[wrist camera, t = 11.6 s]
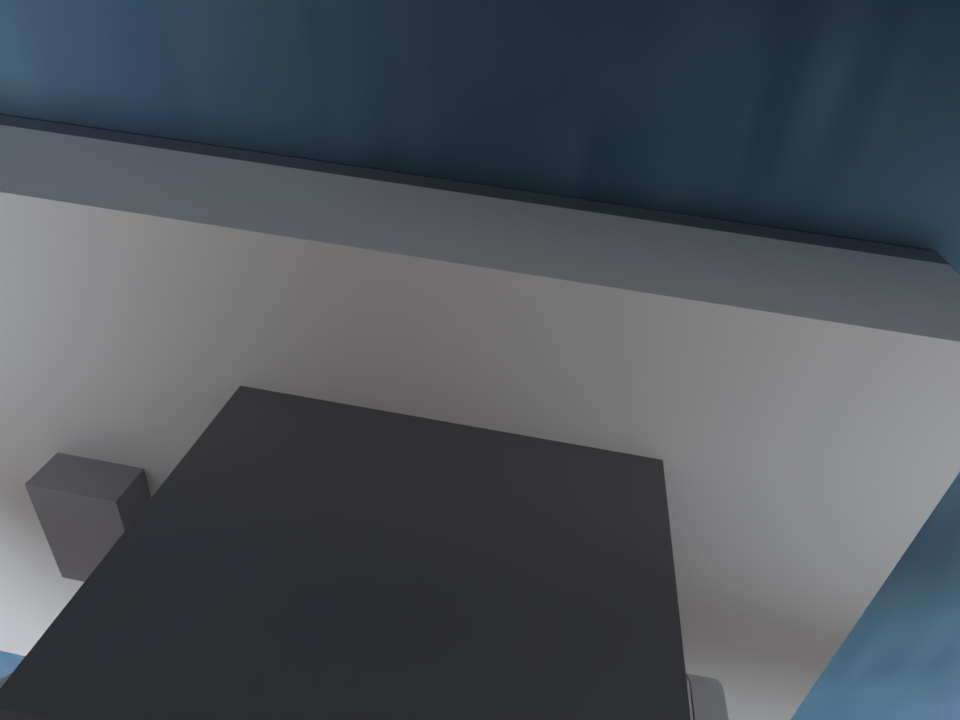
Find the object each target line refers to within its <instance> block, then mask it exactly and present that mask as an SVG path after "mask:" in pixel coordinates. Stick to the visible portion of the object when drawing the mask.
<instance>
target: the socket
mask: <svg viewBox="0 0 960 720" xmlns="http://www.w3.org/2000/svg"><path fill="white" fill-rule="evenodd" d="M239 386H246V387H251V388H257V389H263V390H268V391H274V392H280V393H285V394H291V395H297V396H303V397H308V398H314V399H320V400H325V401H331V402H337V403H342V404H348V405H354V406H359V407H365V408H371V409H376V410H382V411H388V412H394V413H399V414H405V415H411V416H416V417H422V418H428V419H433V420H439V421H445V422H450V423H456V424H462V425H467V426H473V427H479V428H485V429H490V430H496V431H502V432H507V433H513V434H519V435H524V436H530V437H536V438H541V439H547V440H553V441H558V442H564V443H570V444H576V445H581V446H587V447H593V448H598V449H604V450H610V451H615V452H621V453H627V454H632V455H638V456H644V457H649V458H655V459H661V460H663V466H664V475H665V484H666V494H667V503H668V512H669V522H670V531H671V540H672V550H673V559H674V568H675V578H676V587H677V596H678V606H679V615H680V624H681V634H682V643H683V652H684V662H685V671H686V673H688V674H693V675H699V676H704V677H709V678H715V679H717V680H719V681H720V683H721V684H722V686H723V688H724V693H725V699H726V705H727V711H728V718H729V720H791V718H792V717H793V715H794V714H795V712H796V711H797V709H798V708H799V706H800V705H801V704H802V702H803V701H804V699H805V698H806V696H807V695H808V693H809V692H810V690H811V689H812V687H813V686H814V685H815V683H816V682H817V680H818V679H819V677H820V676H821V674H822V673H823V671H824V670H825V668H826V667H827V665H828V664H829V663H830V661H831V660H832V658H833V657H834V655H835V654H836V652H837V651H838V649H839V648H840V646H841V645H842V644H843V642H844V641H845V639H846V638H847V636H848V635H849V633H850V632H851V630H852V629H853V627H854V626H855V624H856V623H857V622H858V620H859V619H860V617H861V616H862V614H863V613H864V611H865V610H866V608H867V607H868V605H869V604H870V603H871V601H872V600H873V598H874V597H875V595H876V594H877V592H878V591H879V589H880V588H881V586H882V585H883V583H884V582H885V581H886V579H887V578H888V576H889V575H890V573H891V572H892V570H893V569H894V567H895V566H896V564H897V563H898V562H899V560H900V559H901V557H902V556H903V554H904V553H905V551H906V550H907V548H908V547H909V545H910V544H911V542H912V541H913V540H914V538H915V537H916V535H917V534H918V532H919V531H920V529H921V528H922V526H923V525H924V523H925V522H926V521H927V519H928V518H929V516H930V515H931V513H932V512H933V510H934V509H935V507H936V506H937V504H938V503H939V501H940V500H941V499H942V497H943V496H944V494H945V493H946V491H947V490H948V488H949V487H950V485H951V484H952V482H953V481H954V480H955V478H956V477H957V475H958V474H959V472H960V275H959V274H958V273H957V272H956V271H955V270H954V269H953V268H952V267H951V266H950V265H949V264H948V263H947V262H946V261H945V260H944V259H943V258H942V257H941V256H940V255H939V254H938V253H937V252H936V251H931V250H924V249H918V248H911V247H904V246H897V245H890V244H883V243H877V242H870V241H863V240H856V239H849V238H842V237H835V236H829V235H822V234H815V233H808V232H801V231H794V230H788V229H781V228H774V227H767V226H760V225H753V224H747V223H740V222H733V221H726V220H719V219H712V218H706V217H699V216H692V215H685V214H678V213H671V212H664V211H658V210H651V209H644V208H637V207H630V206H623V205H617V204H610V203H603V202H596V201H589V200H582V199H576V198H569V197H562V196H555V195H548V194H541V193H535V192H528V191H521V190H514V189H507V188H500V187H493V186H487V185H480V184H473V183H466V182H459V181H452V180H446V179H439V178H432V177H425V176H418V175H411V174H405V173H398V172H391V171H384V170H377V169H370V168H364V167H357V166H350V165H343V164H336V163H329V162H322V161H316V160H309V159H302V158H295V157H288V156H281V155H275V154H268V153H261V152H254V151H247V150H240V149H234V148H227V147H220V146H213V145H206V144H199V143H193V142H186V141H179V140H172V139H165V138H158V137H151V136H145V135H138V134H131V133H124V132H117V131H110V130H104V129H97V128H90V127H83V126H76V125H69V124H63V123H56V122H49V121H42V120H35V119H28V118H22V117H15V116H8V115H1V114H0V651H4V652H9V653H14V654H18V655H23V656H26V655H27V654H28V653H29V651H30V650H31V649H32V648H33V646H34V645H35V644H36V643H37V641H38V640H39V639H40V638H41V636H42V635H43V634H44V632H45V631H46V630H47V629H48V627H49V626H50V625H51V624H52V622H53V621H54V620H55V619H56V617H57V616H58V615H59V614H60V612H61V611H62V610H63V608H64V607H65V606H66V605H67V603H68V602H69V601H70V600H71V598H72V597H73V596H74V595H75V593H76V592H77V591H78V590H79V588H80V587H81V586H82V585H83V583H84V582H85V581H86V579H87V578H88V577H89V576H90V574H91V573H92V572H93V571H94V569H95V568H96V567H97V566H98V564H99V563H100V562H101V561H102V559H103V558H104V557H105V556H106V554H107V553H108V552H109V550H110V549H111V548H112V547H113V545H114V544H115V543H116V542H117V540H118V539H119V538H120V537H121V535H122V534H123V533H124V532H125V530H126V529H127V528H128V526H129V525H130V524H131V523H132V521H133V520H134V519H135V518H136V516H137V515H138V514H139V513H140V511H141V510H142V509H143V508H144V506H145V505H146V504H147V503H148V501H149V500H150V499H151V497H152V496H153V495H154V494H155V492H156V491H157V490H158V489H159V487H160V486H161V485H162V484H163V482H164V481H165V480H166V479H167V477H168V476H169V475H170V474H171V472H172V471H173V470H174V468H175V467H176V466H177V465H178V463H179V462H180V461H181V460H182V458H183V457H184V456H185V455H186V453H187V452H188V451H189V450H190V448H191V447H192V446H193V445H194V443H195V442H196V441H197V439H198V438H199V437H200V436H201V434H202V433H203V432H204V431H205V429H206V428H207V427H208V426H209V424H210V423H211V422H212V421H213V419H214V418H215V417H216V415H217V414H218V413H219V412H220V410H221V409H222V408H223V407H224V405H225V404H226V403H227V402H228V400H229V399H230V398H231V397H232V395H233V394H234V393H235V392H236V390H237V389H238V388H239Z"/></svg>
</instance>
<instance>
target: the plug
mask: <svg viewBox="0 0 960 720" xmlns="http://www.w3.org/2000/svg"><path fill="white" fill-rule="evenodd" d="M0 720H691V718H690V708H689V699H688V690H687V680H686V671H685V662H684V652H683V643H682V634H681V624H680V615H679V606H678V596H677V587H676V578H675V568H674V559H673V550H672V540H671V531H670V522H669V512H668V503H667V494H666V484H665V475H664V466H663V460H661V459H655V458H649V457H644V456H638V455H632V454H627V453H621V452H615V451H610V450H604V449H598V448H593V447H587V446H581V445H576V444H570V443H564V442H558V441H553V440H547V439H541V438H536V437H530V436H524V435H519V434H513V433H507V432H502V431H496V430H490V429H485V428H479V427H473V426H467V425H462V424H456V423H450V422H445V421H439V420H433V419H428V418H422V417H416V416H411V415H405V414H399V413H394V412H388V411H382V410H376V409H371V408H365V407H359V406H354V405H348V404H342V403H337V402H331V401H325V400H320V399H314V398H308V397H303V396H297V395H291V394H285V393H280V392H274V391H268V390H263V389H257V388H251V387H246V386H239V388H238V389H237V390H236V392H235V393H234V394H233V395H232V397H231V398H230V399H229V400H228V402H227V403H226V404H225V405H224V407H223V408H222V409H221V410H220V412H219V413H218V414H217V415H216V417H215V418H214V419H213V421H212V422H211V423H210V424H209V426H208V427H207V428H206V429H205V431H204V432H203V433H202V434H201V436H200V437H199V438H198V439H197V441H196V442H195V443H194V445H193V446H192V447H191V448H190V450H189V451H188V452H187V453H186V455H185V456H184V457H183V458H182V460H181V461H180V462H179V463H178V465H177V466H176V467H175V468H174V470H173V471H172V472H171V474H170V475H169V476H168V477H167V479H166V480H165V481H164V482H163V484H162V485H161V486H160V487H159V489H158V490H157V491H156V492H155V494H154V495H153V496H152V497H151V499H150V500H149V501H148V503H147V504H146V505H145V506H144V508H143V509H142V510H141V511H140V513H139V514H138V515H137V516H136V518H135V519H134V520H133V521H132V523H131V524H130V525H129V526H128V528H127V529H126V530H125V532H124V533H123V534H122V535H121V537H120V538H119V539H118V540H117V542H116V543H115V544H114V545H113V547H112V548H111V549H110V550H109V552H108V553H107V554H106V556H105V557H104V558H103V559H102V561H101V562H100V563H99V564H98V566H97V567H96V568H95V569H94V571H93V572H92V573H91V574H90V576H89V577H88V578H87V579H86V581H85V582H84V583H83V585H82V586H81V587H80V588H79V590H78V591H77V592H76V593H75V595H74V596H73V597H72V598H71V600H70V601H69V602H68V603H67V605H66V606H65V607H64V608H63V610H62V611H61V612H60V614H59V615H58V616H57V617H56V619H55V620H54V621H53V622H52V624H51V625H50V626H49V627H48V629H47V630H46V631H45V632H44V634H43V635H42V636H41V638H40V639H39V640H38V641H37V643H36V644H35V645H34V646H33V648H32V649H31V650H30V651H29V653H28V654H27V655H26V656H25V658H24V659H23V660H22V661H21V663H20V664H19V665H18V667H17V668H16V669H15V670H14V672H13V673H12V674H11V675H10V677H9V678H8V679H7V680H6V682H5V683H4V684H3V685H2V687H1V688H0Z"/></svg>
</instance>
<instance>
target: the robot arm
mask: <svg viewBox="0 0 960 720" xmlns="http://www.w3.org/2000/svg"><path fill="white" fill-rule="evenodd" d="M12 673H13V672H12ZM12 673H10V674H9V675H7V676H5V677H4V678H2V679H0V688H1V687H2V685H3V684H4V683H5V682H6V680H7V679H8V678H9V677H10V675H11V674H12ZM686 680H687V690H688V699H689V708H690V718H691V720H729V718H728V711H727V705H726V699H725V693H724V688H723V686H722V684H721V683H720V681H719V680H717V679H715V678H709V677H704V676H699V675H693V674H688V673H686Z"/></svg>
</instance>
